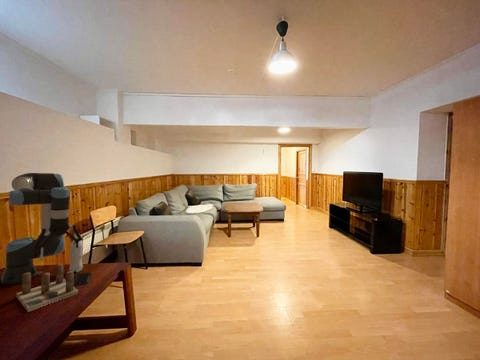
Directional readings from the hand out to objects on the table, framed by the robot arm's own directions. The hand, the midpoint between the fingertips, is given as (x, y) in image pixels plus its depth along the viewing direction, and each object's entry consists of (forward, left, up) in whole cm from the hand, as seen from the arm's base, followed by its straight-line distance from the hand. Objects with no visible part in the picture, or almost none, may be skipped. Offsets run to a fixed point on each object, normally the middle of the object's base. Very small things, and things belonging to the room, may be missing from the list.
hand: (58, 257), depth 116 cm
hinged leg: (-1, -3, -18) cm, 19 cm away
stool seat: (-5, -3, -21) cm, 21 cm away
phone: (-11, +15, -21) cm, 28 cm away
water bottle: (-26, +17, -21) cm, 37 cm away
